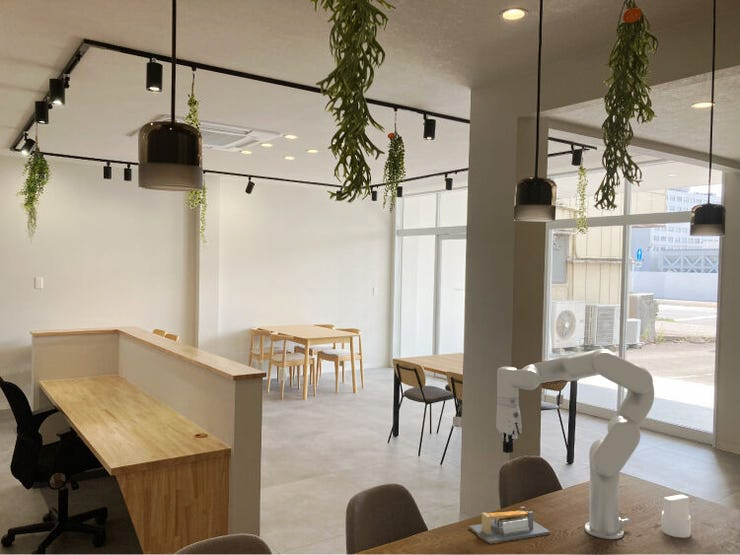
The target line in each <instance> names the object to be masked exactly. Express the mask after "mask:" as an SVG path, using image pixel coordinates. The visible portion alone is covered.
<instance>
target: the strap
mask: <svg viewBox="0 0 740 555" xmlns="http://www.w3.org/2000/svg"><path fill="white" fill-rule="evenodd" d="M528 512H529V511H527V510H521V511H520V510H509V511H500V512H499V511H498V512H486V513H487V514H488V515H490V516H491V519H496V518H508V517H520V516H525V517H528Z"/></svg>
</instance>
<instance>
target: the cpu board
mask: <svg viewBox="0 0 740 555" xmlns="http://www.w3.org/2000/svg"><path fill="white" fill-rule="evenodd" d="M526 509H527V508H526V506H520V507H519V511H521V510H526ZM526 511H527V510H526ZM527 512H528V516H522V517H525V519H528V527H529V532H525V533H519V534H513V535H507V536H503V535H502V534H501V533H499V532H498V531H497V530H495V529H494V528H493V527H491V516H490V515H488V514H487V513H488V512H481V523H480V524H473V525H469V526H468V528H469V527H470V528H471V529H473V530H474V531H475V532H476V533H477V534H479V535H480V536H481V537H482V538H483V539H485V540H486V541H487V542H488V543H493V542H501V543H504V542H503V541H507V542H510V541H509V540H513V541H516V540H515V539H519V540H524V539H523V538H525V539H529V538H528V537H531V538H537V537H542V536H541V535H543V536H549V535H551V532H550V530H549V529H547V528H546V527H544V526H542V525H541V524H539V523H537V522H536V521H534V512H533V510H531V511H527ZM477 534H476V535H477ZM548 534H549V535H548ZM536 536H537V537H536ZM482 538H481V539H482ZM483 539H482V540H483ZM487 542H486V543H487ZM488 543H487V544H488Z"/></svg>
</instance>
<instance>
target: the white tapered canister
mask: <svg viewBox="0 0 740 555" xmlns="http://www.w3.org/2000/svg"><path fill="white" fill-rule="evenodd" d="M662 508H663V510H662V511H661V531H662V532H663V533H664V534H666V535H668V536H671V537H674V538H689V537H690V536H691V535H692V534H691V533H692V532H691V529H692V528H691V527H692V526H691V525H692V522H691V520H692V517H691V515H690V497H689V496H687V495H685V494H677V495H675V494H674V495H671V496H670V495H669V496H664V497H663V507H662Z"/></svg>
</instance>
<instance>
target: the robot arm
mask: <svg viewBox="0 0 740 555" xmlns="http://www.w3.org/2000/svg"><path fill="white" fill-rule="evenodd" d="M496 371H497V374H496V377H497V379H496V381H497V382H496V385H497V386H496V389H497V392H496V395H497V398H496V399H497V401H496V404H497V405H496V416H495V428H496V429H497V430H498V433H499V434H500V435H501V440H502V452H503V453H505V454H511V453H513V452H514V441H515V440H517V439H519V435H521V434H522V432H523V431H522V430H523V429H522V426H523V425H522V415H521V414H522V413H521V409H520V406H519V404H520V403H519V397H520V392H519V390H520V389H521V390H527V391H532V390H535V389H536V388H538V387H539V386H540V384H543V383H547V382H551V381H552V382H553V381H568V382H569V381H571V382H573V381H577V380H581V379H586V378H591V377H594V376H601V377H603V378H605V379H606V380H608V381H610V382H612V383H614V384H616V385H618V386H620V387H622V388H624V389H626V390H627V392H626V395H625V398H624V399H623V401H622V402H621V404H620V406H619V407H618V409H617V411H615V413H614V415H613V416H612V417H611V419H610V420H609V421H608V424H607V434H606V436H605V437H604V438H600V439H597V440H595V441H594V442H593V443H592V444H591V445H590V448H589V455H588V456H589V457H588V458H589V520H588V521H589V522H586V523H585V525H584V530H585V532H586V533H587V534H589V535H591V536H593V537H596V538H599V539H604V540H617V539H618V540H619V539H621V538H623V537H624V536H625V532H624V529H623V528H622V527H623V526H628V525H630V524H631V520H630V519H629V518H622V517H620V472H621V471H622V469H623V468H624V466H625V465H626V464H627V463H628V461H629V459H630V458H631V457H632V455H633V454H634V452H635V451H636V449H637V447H638V446H639V444H640V440H641V432H640V427H641V425H642V424H643V423H644V421H645V420H646V417H647V416H648V415H649V412H650V411H651V409H652V406H653V403H654V400H655V388H654V380H653V376H652V374H651V372H649V370H647V369H646V368H645V367H644V366H643V365H641V364H638V363H632V362H630V361H628V360H626V359H624V358H622V357H621V356H619V355H617V354H615V353H614V352H613V351H612V350H610V349H607V348H599V349H593V350H589V351H584V352H581V353H577V354H572V355H569V356H564V357H563V356H562V357H559V358H553V359H550V360H549V359H548V360H545V361H541V362H540V361H539V362H535V363H531V364H528V365H526V366H524V367H523V368H521V369H517V367H513V366H501V367H499V368H497V370H496Z"/></svg>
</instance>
